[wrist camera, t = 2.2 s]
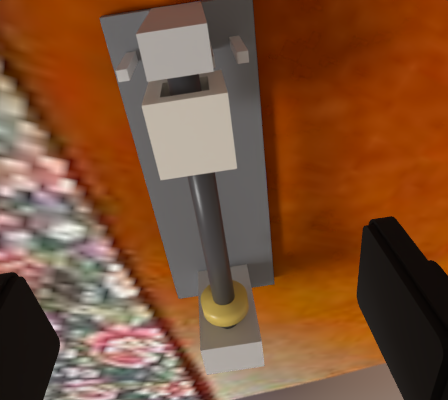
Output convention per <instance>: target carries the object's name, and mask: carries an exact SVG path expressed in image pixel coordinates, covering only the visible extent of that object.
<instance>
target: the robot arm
mask: <svg viewBox="0 0 448 400" xmlns="http://www.w3.org/2000/svg"><path fill="white" fill-rule="evenodd" d="M357 300H358V304H359V307H360V309H361V311H362V313H363V315H364V317H365V319H366V321H367V324H368V326H369V328H370V330H371V332H372V334H373V336H374V338H375V340H376V342H377V344H378V346H379V349H380V351H381V353H382V355H383V357H384V359H385V361H386V363H387V365H388V367H389V369H390V372H391V374H392V376H393V378H394V380H395V382H396V384H397V386H398V388H399V390H400V392H401V394H402V397H403V399H404V400H448V276H447V274H446V273H445V272H444V271H443V269H442V268H441V267H440V266H439V265H438V264H437V263H436V262H434V261H432V260H430V261H428V260H427V259H426V257H425V256H424V255H423V253H422V252H421V251H420V250H419V248H418V247H417V246H416V244H415V243H414V242H413V240H412V239H411V238H410V237H409V235H408V234H407V233H406V231H405V230H404V229H403V228H402V226H401V225H400V224H399V222H398V221H397V220H396V219H395V218H394V217H392V216H391V217H384V218H377V219H372V220H370V222H369V225H367V226H364V227H363V233H362V243H361V254H360V265H359V275H358V286H357ZM59 349H60V341H59V338H58V336H57V334H56V332H55V330H54V329H53V327H52V325H51V323H50V322H49V320H48V318H47V317H46V315H45V313H44V311H43V310H42V308H41V306H40V304H39V303H38V301H37V299H36V297H35V296H34V294H33V292H32V291H31V289H30V287H29V285H28V284H27V282H26V280H25V279H24V278H23V277H19V276H18V275H17V274H16V273H14V272H11V273H4V274H0V400H43V399H44V396H45V393H46V389H47V386H48V383H49V380H50V377H51V374H52V371H53V368H54V365H55V362H56V359H57V356H58V353H59Z"/></svg>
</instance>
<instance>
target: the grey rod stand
mask: <svg viewBox="0 0 448 400" xmlns="http://www.w3.org/2000/svg"><path fill="white" fill-rule="evenodd" d="M100 22H101V25H102V29H103V33H104V36H105V40H106V43H107V47H108V50H109V54H110V57H111V61H112V64H113V68H114V72H115V75H116V79H117V82H118V86H119V89H120V93H121V96H122V100H123V103H124V107H125V111H126V114H127V118H128V121H129V125H130V128H131V132H132V135H133V139H134V142H135V146H136V149H137V153H138V157H139V160H140V164H141V167H142V171H143V174H144V178H145V181H146V185H147V188H148V192H149V196H150V199H151V203H152V206H153V210H154V213H155V217H156V220H157V224H158V227H159V231H160V235H161V238H162V242H163V245H164V249H165V252H166V256H167V259H168V263H169V266H170V270H171V274H172V277H173V281H174V284H175V288H176V291H177V295H178V298H179V299H180V298H187V297H193V296H199V322H200V350H201V354H202V358H203V362H204V366H205V370H206V373H207V375H209V374H216V373H222V372H229V371H235V370H242V369H249V368H255V367H262V366H264V357H263V349H262V341H261V335H260V330H259V325H258V320H257V315H256V309H255V304H254V299H253V294H252V289H251V288H252V287H259V286H265V285H272V284H274V273H273V260H272V247H271V234H270V221H269V208H268V195H267V182H266V169H265V156H264V143H263V130H262V117H261V104H260V91H259V78H258V65H257V52H256V39H255V26H254V13H253V0H203V1H197V2H190V3H184V4H177V5H171V6H164V7H158V8H151V9H145V10H138V11H132V12H125V13H119V14H112V15H106V16H101V17H100ZM217 70H221V71H222V74H223V78H224V81H225V85H226V88H227V92H228V98H229V106H230V114H231V122H232V131H233V139H234V147H235V155H236V163H237V169H232V170H225V171H219V172H212V173H206V174H199V175H193V176H186V177H179V178H173V179H166V180H160V176H159V172H158V169H157V165H156V161H155V157H154V153H153V149H152V145H151V141H150V137H149V133H148V130H147V126H146V122H145V118H144V114H143V110H142V102H143V99H144V95H145V92H146V88H147V85H148V82H150V81H156V80H163V79H167V82H168V87H169V91H170V96H174V95H180V94H187V93H193V92H200V91H202V90H201V84H200V77H199V74H202V73H209V72H214V71H217Z"/></svg>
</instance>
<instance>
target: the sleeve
mask: <svg viewBox="0 0 448 400" xmlns="http://www.w3.org/2000/svg"><path fill="white" fill-rule="evenodd" d="M199 77H200V84H201V90H202V91H200V92H193V93H187V94H180V95H174V96H170V91H169V87H168V82H167V79H163V80H156V81H150V82H148V85H147V88H146V92H145V95H144V99H143V102H142V110H143V114H144V118H145V122H146V126H147V130H148V133H149V137H150V141H151V145H152V149H153V153H154V157H155V161H156V165H157V169H158V172H159V176H160V180H166V179H173V178H179V177H186V176H193V175H199V174H206V173H212V172H219V171H225V170H232V169H237V163H236V155H235V147H234V139H233V131H232V122H231V114H230V106H229V98H228V92H227V88H226V85H225V81H224V78H223V74H222V71H221V70H217V71H214V72H209V73H202V74H199Z"/></svg>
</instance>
